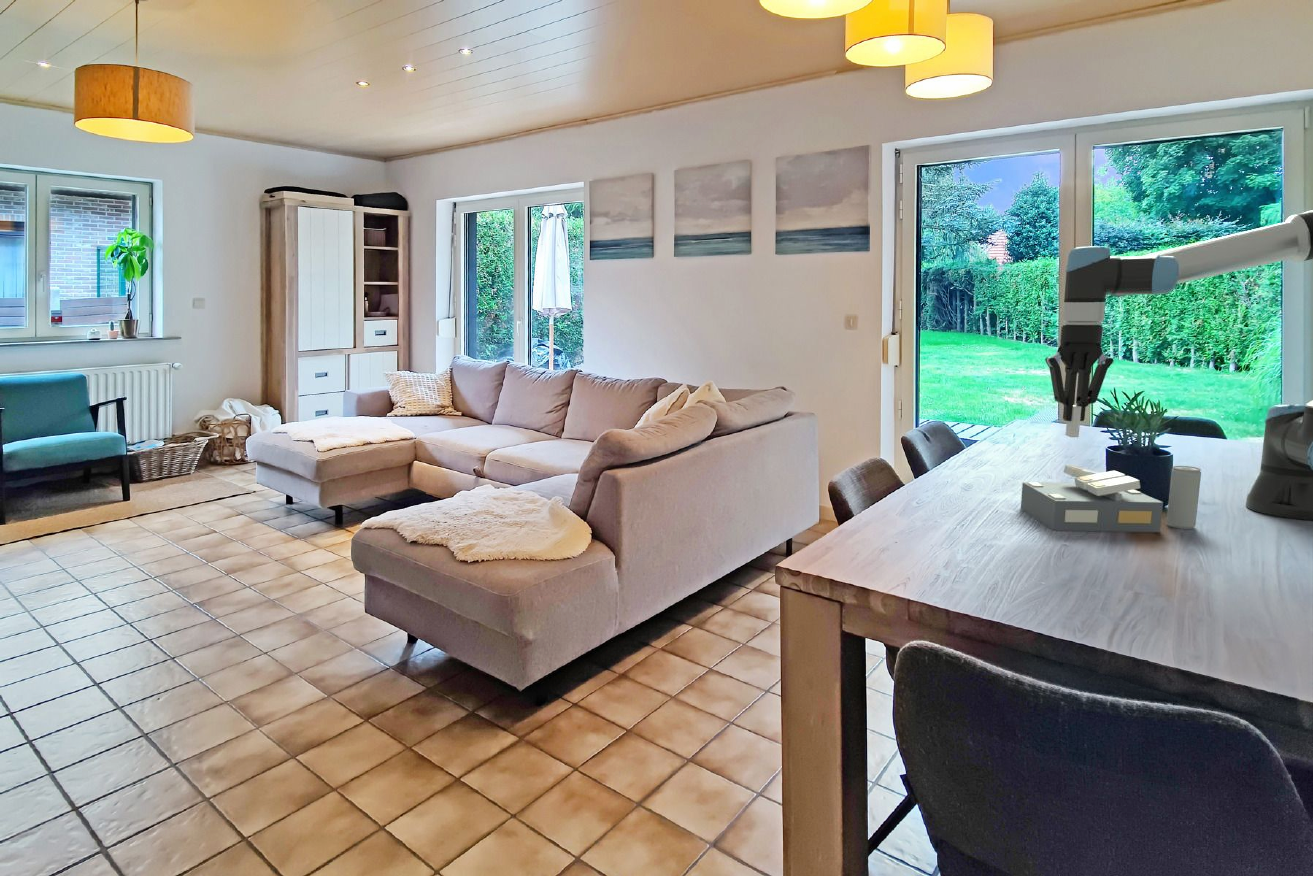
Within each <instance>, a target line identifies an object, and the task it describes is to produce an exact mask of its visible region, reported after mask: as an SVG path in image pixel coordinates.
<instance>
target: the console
mask: <svg viewBox="0 0 1313 876" xmlns="http://www.w3.org/2000/svg"><path fill="white" fill-rule="evenodd" d="M1021 485H1022V486H1021V487H1022V488H1021V498H1020V499H1021V500H1020V509H1021V510H1022V511H1023V512H1025V513H1026V514H1028V515H1029V516H1031V517H1032V518H1033V519H1036V520H1037V521H1038V522H1040V523H1042V524H1043V525H1044V526H1045V527H1047V528H1049V529H1051V530H1052V531H1059V532H1060V531H1067V532H1074V531H1075V532H1077V531H1078V532H1125V533H1128V532H1129V533H1133V532H1134V533H1135V532H1136V533H1161V527H1162V517H1163V509H1164V508H1163V506H1164V502H1163V501H1161V500H1159V499H1157V498H1154V497H1151V496H1149V495H1147V494H1145V493H1143V492H1141V491H1138V490H1137V489H1133V490H1128V491H1122V492H1117V493H1111V494H1106V495H1100V496H1097V495H1095V494H1093V493H1091V492H1089V491H1088V490H1087V489H1086V490H1084V489H1082V488H1080V487H1078V486H1076V485H1075V482H1043V481H1041V482H1040V481H1039V482H1037V481H1035V482H1031V481H1029V482H1028V481H1026V482H1025V481H1022V484H1021Z"/></svg>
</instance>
